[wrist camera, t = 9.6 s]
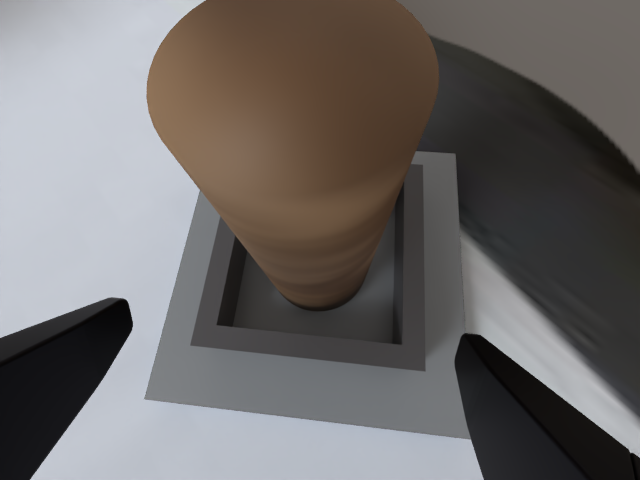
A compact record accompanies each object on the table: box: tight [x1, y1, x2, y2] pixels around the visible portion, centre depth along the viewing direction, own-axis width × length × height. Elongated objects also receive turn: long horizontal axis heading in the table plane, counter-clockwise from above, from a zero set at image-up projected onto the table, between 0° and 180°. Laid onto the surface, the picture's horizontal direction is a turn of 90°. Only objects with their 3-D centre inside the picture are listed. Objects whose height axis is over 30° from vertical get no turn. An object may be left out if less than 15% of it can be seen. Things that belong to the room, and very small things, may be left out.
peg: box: [147, 0, 439, 312], centre depth 12 cm, size 6×6×13 cm
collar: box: [144, 151, 471, 439], centre depth 18 cm, size 16×16×4 cm
